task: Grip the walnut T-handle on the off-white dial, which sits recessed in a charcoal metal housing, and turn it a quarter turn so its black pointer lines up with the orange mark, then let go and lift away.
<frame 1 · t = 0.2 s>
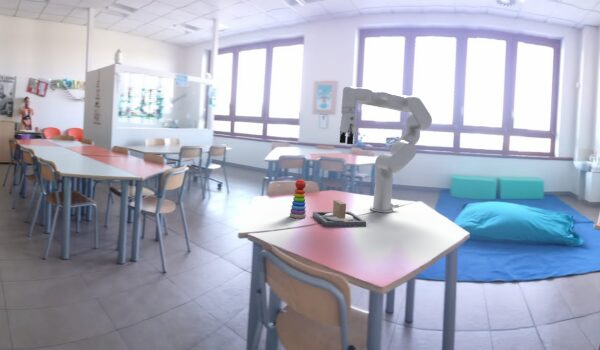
hand: (346, 143, 209), 36 cm above the table, tool pointing down, fingers open, 9 cm apart
dial: (339, 210, 190), point 5 cm above the table, hinge at 0.0°
stacking toy: (297, 217, 195), on the table
dial housing: (338, 221, 191), on the table
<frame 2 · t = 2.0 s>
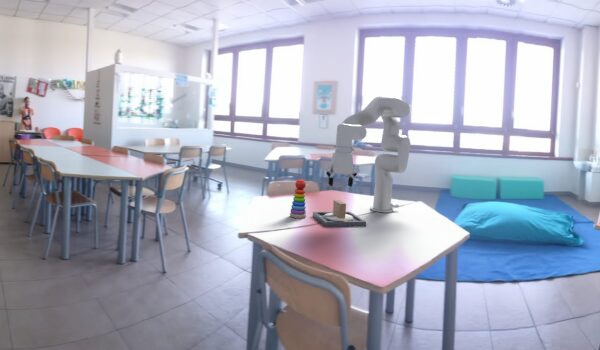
hand: (340, 186, 188), 17 cm above the table, tool pointing down, fingers open, 9 cm apart
nothing on the table moved.
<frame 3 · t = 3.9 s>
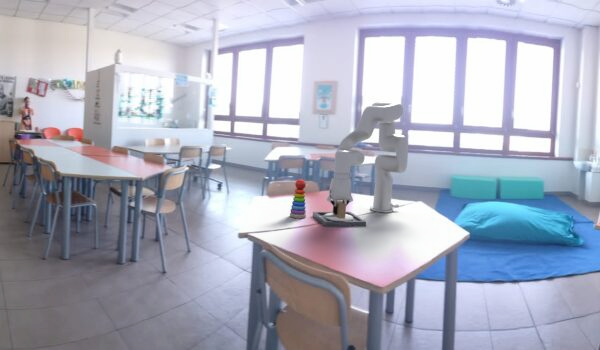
hand: (338, 213, 190), 4 cm above the table, tool pointing down, fingers closed on dial, 3 cm apart
dial: (339, 210, 190), point 5 cm above the table, hinge at 0.0°, touching gripper
everything else where it was.
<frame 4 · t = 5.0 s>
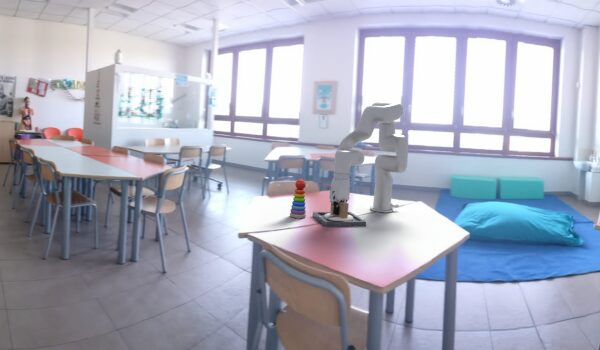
hand: (338, 213, 190), 4 cm above the table, tool pointing down, fingers closed on dial, 3 cm apart
dial: (339, 210, 190), point 5 cm above the table, hinge at 22.1°, touching gripper
everything else where it was.
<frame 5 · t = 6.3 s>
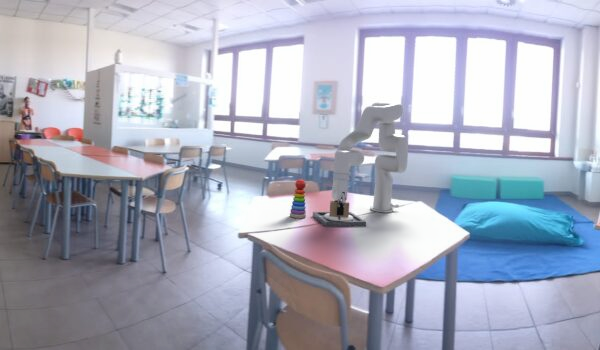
hand: (338, 213, 190), 4 cm above the table, tool pointing down, fingers closed on dial, 4 cm apart
dial: (339, 210, 190), point 5 cm above the table, hinge at 72.2°, touching gripper
everything else where it was.
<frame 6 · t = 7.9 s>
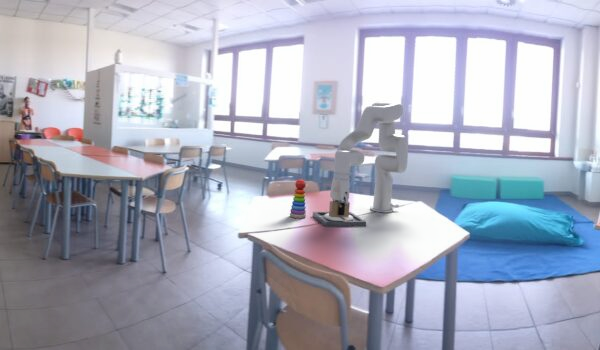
hand: (338, 213, 190), 4 cm above the table, tool pointing down, fingers closed on dial, 3 cm apart
dial: (339, 210, 190), point 5 cm above the table, hinge at 91.7°, touching gripper
everything else where it was.
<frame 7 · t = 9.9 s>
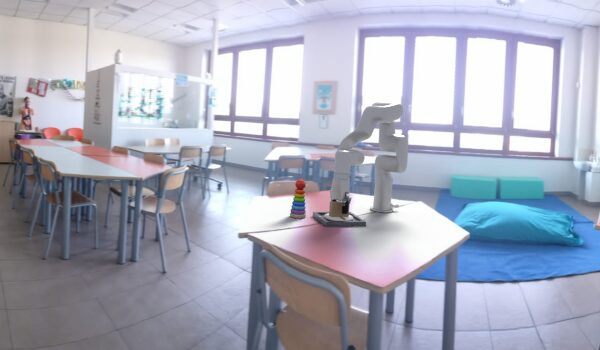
hand: (339, 211, 190), 5 cm above the table, tool pointing down, fingers open, 9 cm apart
dial: (339, 210, 190), point 5 cm above the table, hinge at 92.8°
everything else where it was.
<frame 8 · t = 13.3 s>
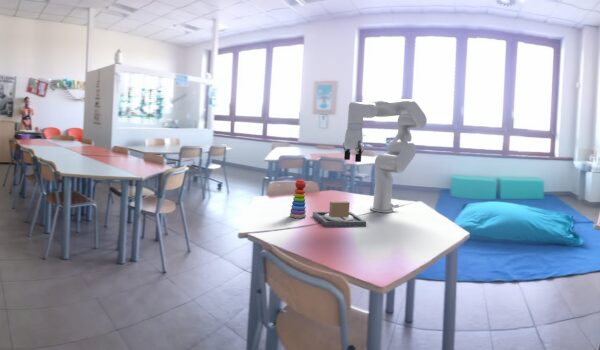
hand: (352, 160, 201), 28 cm above the table, tool pointing down, fingers open, 9 cm apart
nothing on the table moved.
at the end: dial at +93° (first picture: +0°); stacking toy moved 0.2 cm from its start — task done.
